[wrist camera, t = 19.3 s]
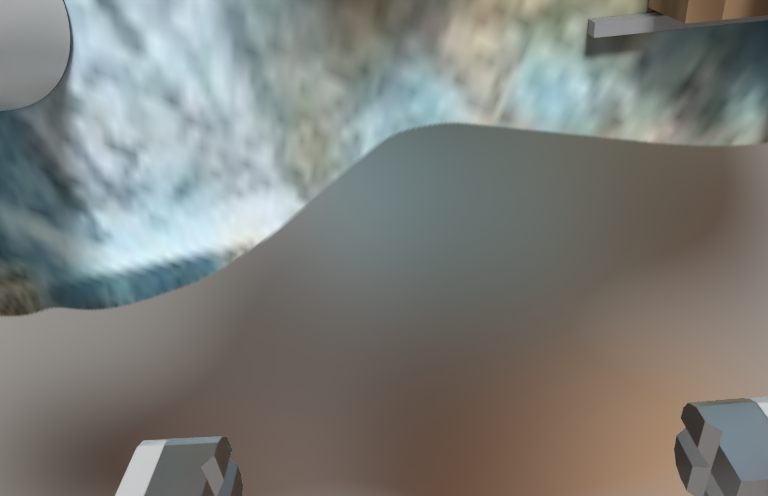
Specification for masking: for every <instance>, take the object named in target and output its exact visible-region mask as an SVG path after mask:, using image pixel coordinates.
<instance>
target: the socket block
mask: <svg viewBox="0 0 768 496" xmlns="http://www.w3.org/2000/svg"><path fill="white" fill-rule="evenodd" d="M648 8H650V9H653V10H655V11H657V12H660V13H662V14H664V15H666V16H669V17H671V18H673V19H676V20H678V21H680V22H682V23H685V24H686V23H696V22H706V21H716V20H726V19H736V18H746V17H755V16H765V15H768V0H649V4H648Z"/></svg>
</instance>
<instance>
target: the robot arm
mask: <svg viewBox="0 0 768 496" xmlns="http://www.w3.org/2000/svg"><path fill="white" fill-rule="evenodd" d="M69 51H70V28H69V22H68V17H67V12H66V9H65V5H64V2H63V0H0V111H6V110H13V109H19V108H23V107H26V106H29V105H31V104H34V103H36V102H37V101H39V100H41V99H42V98H44V97H45V96H46V95H48V94H49V93H50V92H51V91H52V90H53V89H54V88H55V86H56V85H57V84H58V82H59V81H60V79H61V77H62V75H63V73H64V71H65V68H66V65H67V62H68V58H69ZM681 419H682V421H683V423H684V425H685V427H686V428H685V429H684V430H683V431H681V432H680V433H679V434H678V435H677V437H676V443H675V448H674V452H675V460H676V466H677V469H678V472H679V475H680V478H681V480H682V482H683V484H684V486H685V488H686V490H687V491H688V492H689V493H691V494H692V495H694V496H768V397H758V398H748V399H745V398H740V399H728V400H716V401H705V402H692V403H687V404H686V406H685V407H684V408H683V411H682V415H681ZM231 452H232V448H231V445H230V443H229V441H228V438H227V437H201V438H179V439H164V440H144V441H143V442H142V443H141V444H140V445H139V446H138V447H137V448H136V450H135V452H134V454H133V457H132V459H131V461H130V463H129V465H128V467H127V470H126V472H125V474H124V477H123V479H122V481H121V483H120V485H119V487H118V490H117V492H116V494H115V496H242V491H243V484H242V477H241V473H240V470H239V467H238V465H237V464H235V463H234V462H232V461H231V460H229V459H230V455H231Z"/></svg>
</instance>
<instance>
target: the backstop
mask: <svg viewBox="0 0 768 496" xmlns="http://www.w3.org/2000/svg"><path fill="white" fill-rule="evenodd" d="M767 20H768V15H765V16H755V17H746V18H736V19H726V20H716V21H706V22H696V23H686V24H685V23H682V22H680V21H678V20H676V19H673V18H671V17H669V16H666V15H664V14H662V13H660V12H652V13H642V14H632V15H622V16H613V17H603V18H593V19H589V23H588V34H589V35H590V36H592V37H593V38H598V37H608V36H618V35H628V34H638V33H648V32H658V31H668V30H678V29H688V28H697V27H707V26H717V25H727V24H737V23H747V22H757V21H767Z"/></svg>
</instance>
